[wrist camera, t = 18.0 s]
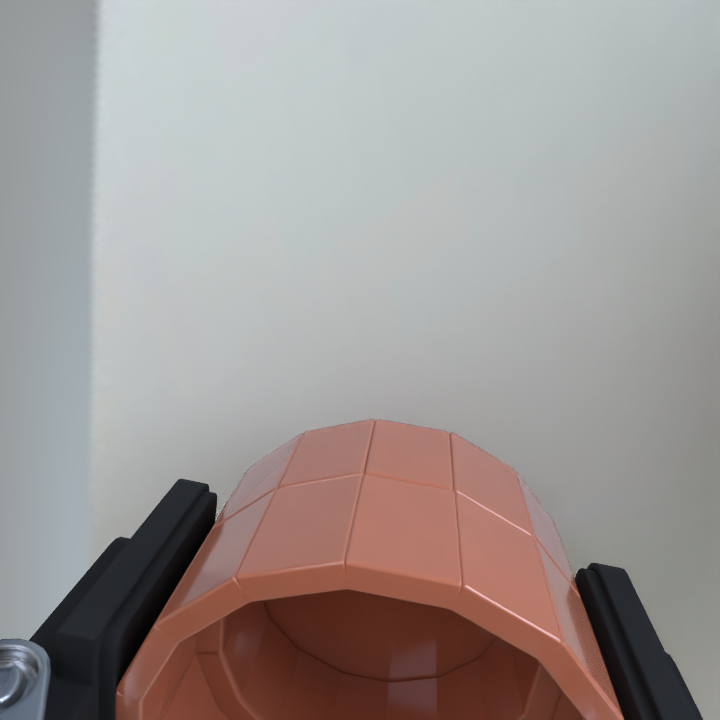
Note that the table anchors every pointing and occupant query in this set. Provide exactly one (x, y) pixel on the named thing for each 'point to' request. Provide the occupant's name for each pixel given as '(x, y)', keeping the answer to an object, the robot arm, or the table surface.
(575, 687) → the terracotta flower pot
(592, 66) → the table surface
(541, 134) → the table surface
